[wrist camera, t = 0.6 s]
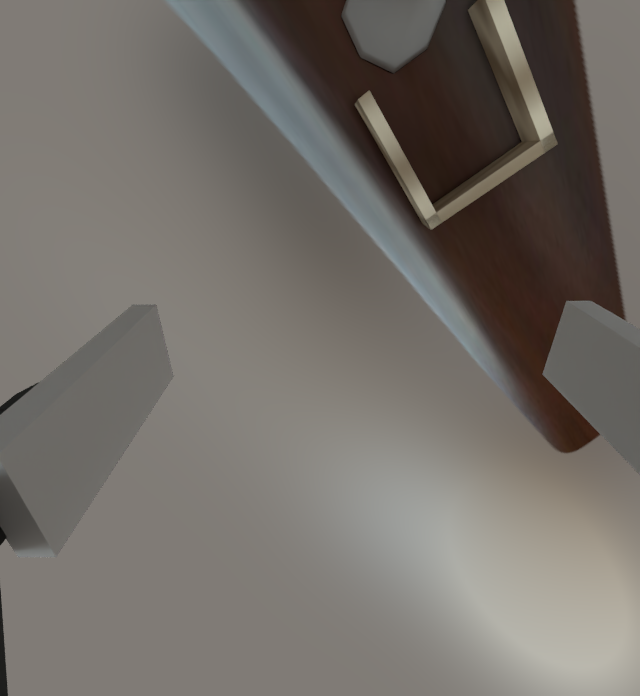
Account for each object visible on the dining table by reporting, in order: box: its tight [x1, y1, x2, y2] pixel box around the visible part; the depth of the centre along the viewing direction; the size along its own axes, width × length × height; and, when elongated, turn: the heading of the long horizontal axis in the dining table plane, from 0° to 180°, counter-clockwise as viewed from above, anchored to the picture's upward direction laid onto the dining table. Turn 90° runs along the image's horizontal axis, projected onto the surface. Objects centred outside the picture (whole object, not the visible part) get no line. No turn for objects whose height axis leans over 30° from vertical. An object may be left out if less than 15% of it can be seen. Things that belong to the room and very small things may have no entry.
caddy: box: [355, 0, 558, 230], centre depth 29 cm, size 12×11×3 cm
